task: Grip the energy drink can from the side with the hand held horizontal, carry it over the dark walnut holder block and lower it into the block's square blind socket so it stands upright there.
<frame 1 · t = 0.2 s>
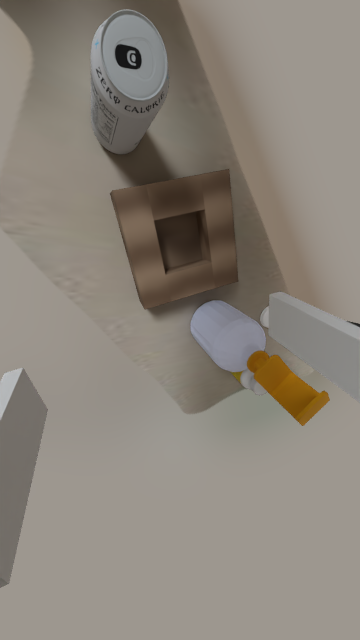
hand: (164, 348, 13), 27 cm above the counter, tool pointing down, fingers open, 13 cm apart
chess piece: (269, 315, 50), on the counter
soap bottle: (211, 321, 46), on the counter
supplement bottle: (234, 357, 51), on the counter
holder block: (176, 240, 38), on the counter
energy drink can: (116, 128, 30), on the counter
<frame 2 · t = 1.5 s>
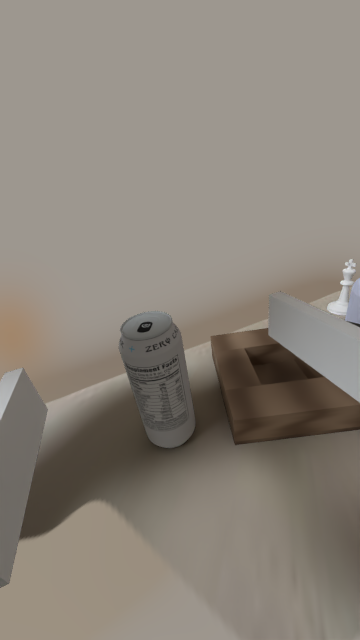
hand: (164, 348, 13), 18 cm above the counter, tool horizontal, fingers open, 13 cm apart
chess piece: (341, 310, 48), on the counter
holder block: (279, 383, 33), on the counter
energy drink can: (172, 430, 29), on the counter
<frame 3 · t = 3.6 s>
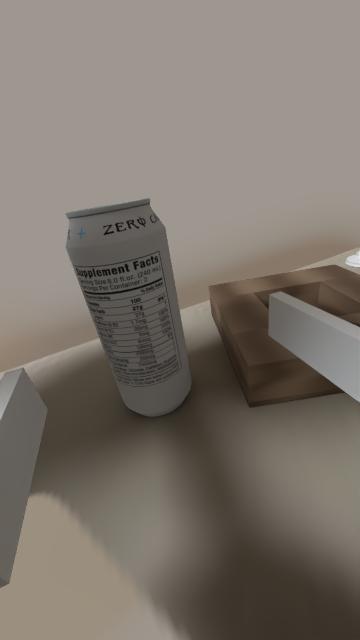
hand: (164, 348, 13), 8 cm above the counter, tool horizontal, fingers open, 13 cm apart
holder block: (301, 335, 25), on the counter
energy drink can: (159, 394, 21), on the counter
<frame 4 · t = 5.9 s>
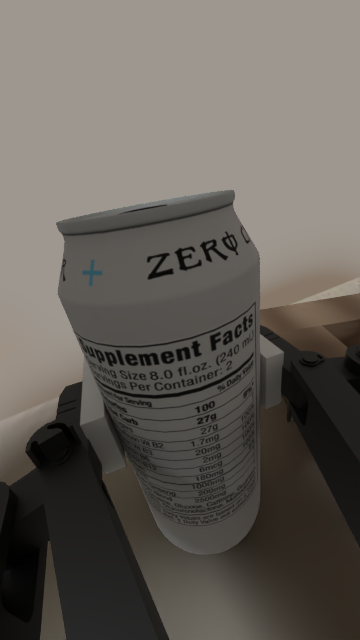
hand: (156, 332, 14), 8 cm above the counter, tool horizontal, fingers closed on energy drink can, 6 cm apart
energy drink can: (205, 493, 14), on the counter, touching gripper
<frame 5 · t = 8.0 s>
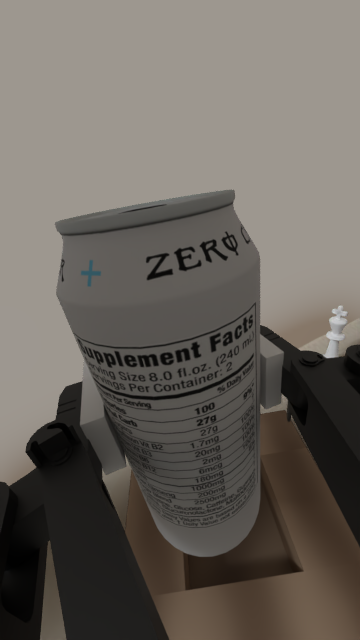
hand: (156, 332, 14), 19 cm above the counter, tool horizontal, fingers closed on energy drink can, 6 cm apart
chess piece: (329, 368, 35), on the counter
holder block: (231, 534, 20), on the counter
energy drink can: (205, 494, 14), point 10 cm above the counter, touching gripper
when the fingers open (10 cm above the counter, at t = 10.3 s): energy drink can drops 2 cm, resting on holder block.
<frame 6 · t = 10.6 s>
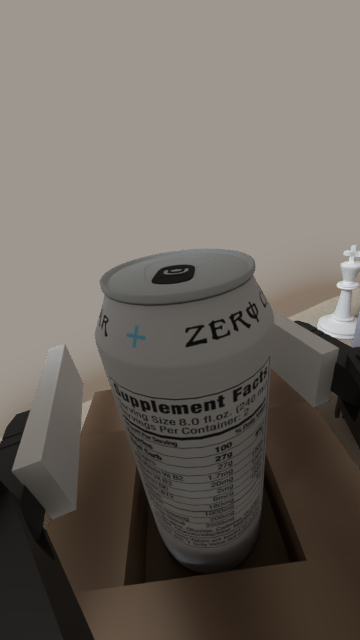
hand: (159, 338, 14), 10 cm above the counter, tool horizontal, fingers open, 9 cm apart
chess piece: (339, 329, 30), on the counter
holder block: (209, 513, 15), on the counter
energy drink can: (208, 512, 15), resting on holder block
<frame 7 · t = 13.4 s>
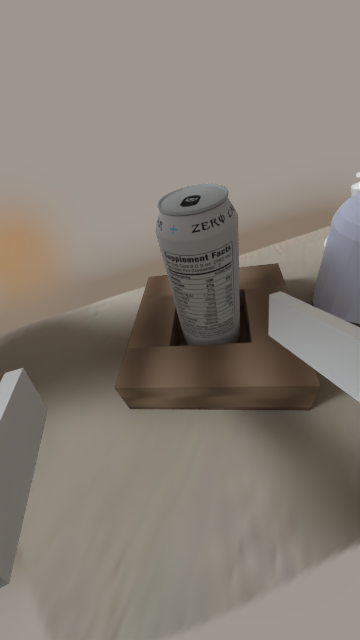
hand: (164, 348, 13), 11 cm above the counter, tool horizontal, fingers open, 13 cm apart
soap bottle: (356, 307, 27), on the counter
holder block: (213, 340, 27), on the counter
energy drink can: (212, 339, 27), resting on holder block
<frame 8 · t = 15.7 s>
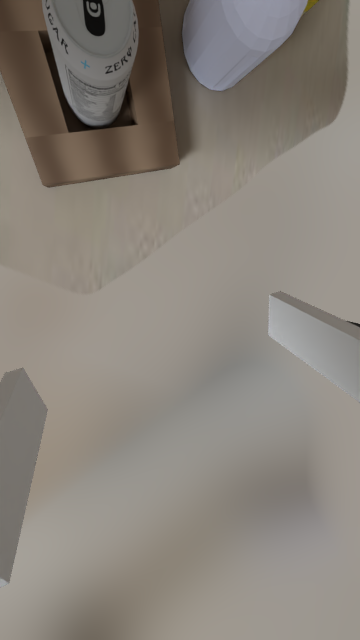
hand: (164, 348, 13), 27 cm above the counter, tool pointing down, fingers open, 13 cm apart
soap bottle: (215, 44, 29), on the counter
holder block: (93, 97, 28), on the counter
energy drink can: (93, 98, 28), resting on holder block
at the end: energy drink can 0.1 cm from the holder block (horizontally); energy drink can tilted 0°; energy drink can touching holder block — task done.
